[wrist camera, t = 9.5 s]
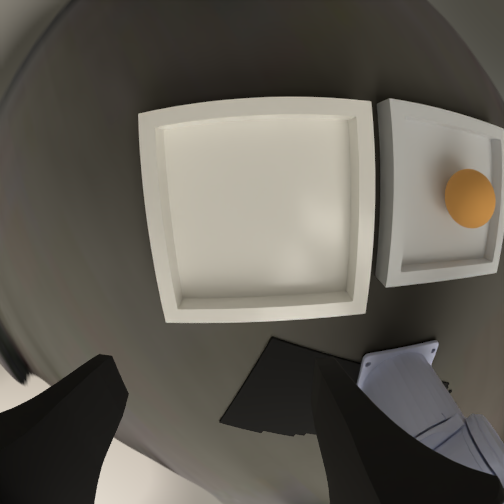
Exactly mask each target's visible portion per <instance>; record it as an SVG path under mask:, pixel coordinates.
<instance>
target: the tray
mask: <svg viewBox="0 0 504 504" xmlns="http://www.w3.org/2000/svg"><path fill="white" fill-rule="evenodd" d="M377 115H378V128H379V145H380V218H379V236H378V250H377V261H376V271H375V276H376V277H377V279H378V280H379V281H380V282H381V283H382V284H383V285H384V286H385V287H396V286H405V285H414V284H422V283H430V282H438V281H445V280H452V279H460V278H466V277H473V276H479V275H486V274H492V273H497V268H498V263H499V258H500V253H501V247H502V241H503V234H504V129H503V128H500V127H498V126H495V125H492V124H490V123H487V122H484V121H481V120H478V119H475V118H472V117H469V116H465V115H462V114H459V113H455V112H452V111H448V110H444V109H440V108H436V107H432V106H427V105H423V104H418V103H413V102H408V101H403V100H397V99H391V98H389V99H386V100H384V101H382V102H380V103H377ZM463 169H474V170H477V171H479V172H480V173H482V174H483V175H484V176H486V177H487V179H488V180H489V181H490V183H491V185H492V187H493V189H494V193H495V199H496V203H495V209H494V213H493V215H492V217H491V218H490V220H489V221H488V222H487V223H486V224H484V225H483V226H481V227H478V228H466V227H463V226H461V225H459V224H458V223H457V222H455V221H454V219H453V218H452V217H451V216H450V214H449V212H448V210H447V207H446V204H445V189H446V185H447V183H448V181H449V179H450V178H451V177H452V175H453V174H455V173H456V172H458V171H460V170H463Z"/></svg>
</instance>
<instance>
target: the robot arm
mask: <svg viewBox="0 0 504 504" xmlns="http://www.w3.org/2000/svg"><path fill="white" fill-rule="evenodd" d="M438 345H439V343H438V341H437V340H433V341H429V342H425V343H420V344H416V345H411V346H406V347H401V348H396V349H391V350H385V351H379V352H373V353H368V354H366V355H365V356H364V357H363V359H362V363H361V368H360V372H359V376H358V380H357V384H356V383H355V382H354V381H353V380H352V378H351V377H350V376H349V375H348V374H347V372H346V371H345V370H344V369H343V367H342V366H341V365H340V364H339V362H338V361H337V360H336V359H335V358H334V357H326V358H317V359H315V366H314V376H313V385H312V393H311V404H312V413H313V420H314V426H315V430H316V434H317V438H318V442H319V446H320V450H321V454H322V459H323V463H324V467H325V471H326V475H327V481H328V487H329V497H330V504H504V444H503V442H502V440H501V439H500V437H499V435H498V434H497V432H496V431H495V429H494V428H493V427H492V425H491V424H490V423H489V421H488V420H487V419H486V418H485V417H484V416H483V415H482V414H476V415H475V414H471V415H470V416H469V417H468V418H466V417H464V416H463V414H462V412H461V411H460V409H459V407H458V406H457V404H456V403H455V401H454V400H453V398H452V397H451V395H450V393H449V392H448V390H447V389H446V387H445V386H444V384H443V383H442V381H441V380H440V378H439V377H438V376H437V374H436V373H435V371H434V370H433V368H432V367H431V364H432V362H433V359H434V356H435V354H436V351H437V348H438ZM368 362H369V363H368ZM366 363H367V364H366ZM128 394H129V393H128V391H127V389H126V387H125V385H124V383H123V380H122V378H121V376H120V374H119V371H118V369H117V367H116V364H115V362H114V359H113V357H112V356H109V355H102V354H99V355H97V356H95V357H94V358H92V359H91V360H89V361H88V362H86V363H85V364H83V365H82V366H80V367H79V368H77V369H76V370H75V371H73V372H72V373H70V374H69V375H67V376H66V377H65V378H63V379H62V380H60V381H59V382H57V383H56V384H54V385H53V386H51V387H50V388H48V389H47V390H45V391H43V392H42V393H40V394H39V395H37V396H35V397H34V398H32V399H30V400H28V401H27V402H24V403H22V404H21V405H18V406H16V407H14V408H12V409H9V410H6V411H4V412H1V413H0V504H94V500H95V494H96V489H97V484H98V479H99V475H100V471H101V467H102V464H103V461H104V458H105V456H106V453H107V451H108V449H109V446H110V444H111V442H112V439H113V437H114V435H115V433H116V430H117V428H118V426H119V423H120V421H121V418H122V416H123V413H124V409H125V406H126V402H127V398H128Z"/></svg>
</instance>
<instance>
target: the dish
mask: <svg viewBox="0 0 504 504" xmlns="http://www.w3.org/2000/svg"><path fill="white" fill-rule="evenodd" d="M138 123H139V144H140V159H141V172H142V182H143V192H144V201H145V209H146V217H147V224H148V231H149V238H150V244H151V250H152V256H153V262H154V268H155V273H156V278H157V283H158V288H159V293H160V298H161V303H162V307H163V312H164V316H165V320H166V323H232V322H263V321H283V320H299V319H312V318H325V317H336V316H346V315H356V314H365V313H366V306H367V299H368V291H369V283H370V274H371V264H372V252H373V238H374V219H375V147H374V129H373V116H372V105H371V101H363V100H353V99H341V98H324V97H259V98H242V99H229V100H219V101H210V102H202V103H194V104H187V105H181V106H175V107H169V108H164V109H158V110H153V111H149V112H144V113H139V114H138Z"/></svg>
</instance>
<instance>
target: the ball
mask: <svg viewBox="0 0 504 504" xmlns="http://www.w3.org/2000/svg"><path fill="white" fill-rule="evenodd" d="M495 203H496V199H495V193H494V189H493V187H492V185H491V183H490V181H489V180H488V179H487V177H486V176H484V175H483V174H482V173H480V172H479V171H477V170H474V169H463V170H460V171H458V172H456V173H455V174H453V175H452V177H451V178H450V179H449V181H448V183H447V185H446V189H445V204H446V207H447V210H448V212H449V214H450V216H451V217H452V218H453V219H454V221H455V222H457V223H458V224H459V225H461V226H463V227H466V228H478V227H481V226H483V225H484V224H486V223H487V222H488V221H489V220H490V218H491V217H492V215H493V213H494V209H495Z"/></svg>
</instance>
